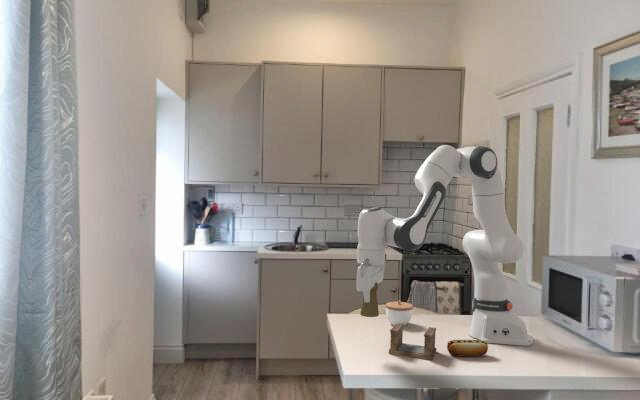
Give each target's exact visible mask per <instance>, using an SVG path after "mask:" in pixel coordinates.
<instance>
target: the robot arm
mask: <svg viewBox="0 0 640 400" xmlns="http://www.w3.org/2000/svg"><path fill="white" fill-rule="evenodd" d="M500 171H501V170H500V168H499V167H498V158H497V155H496V153H495V151H494V149H492V148H491V147H488V146H484V145H480V146H464V147H459V148H455V147H454V146H451V145H449V144H442V145H439V146H438V147H436V149H435V150H433V151H432V153H430V155H428V156H427V158H426V159H425V160H424V162H423V163H422V164H421V165H420V167H419V168H418V170H417V171H416V172H415V176H414V184H415V187H416V189H417V190H418V192H419V193H420V194H421V195H423V196H422V199H421V201H420V202H419V204H418V206H417V208H416V210H415V211H414V213H413V214H412V215H411V216H409V217H407V218H403V217H402V218H401V217H397V216H395V215H392V214H390V213H388V212H386V210H384V208H383V207H380V206H373V207H367V208H364V209H362V210H361V211H360V212H359V215H358V220H357V237H358V244H357V246H356V263H357V264H360V265H359V266H358V268H357V271H356V284H355V288H356V291H357V292H362V293H363V294H364V301H365V302H368V303H369V302H370V301H371V296H370V291H371V288H373V287H374V285H375V283H376V282H377V283H378V285H379V284H381V282H383V281H384V277H385V268H386V267H385V265H386V261H387V257H388V256H387V253H385V252H386V251H385V248H386V247H385V246H391V247H394V248H398V249H402V250H404V251H406V252H415V251H418V250H419V249H420V248H421V247H422V246H423V245H424V243H425V242H426V238H427V235H428V232H429V229H430V227H431V224H432V222H433V221H434V219H435V217H436V216H437V213H438V212H439V210H440V208H441V206H442V204H443V202H444V200H445V196H446V191H447V190H446V188H447V186H448V185H449V183H450V182H451V181H452V179H456V178H458V179H459V178H460V179H469V180H470V182H471V196H472V197H471V198H472V211H473V216H474V218H475V220H477V221H478V222H479V224H480V225H481V227H482V229H475V230H474V229H473V230H469V231H468V232H466V233H465V235H464V236H463V239H462V248H463V251H464V252H465V253H466V255H467V256H468V257H469V260H470V263H471V266H472V270H473V275H474V277H473V278H474V295H473V297H472V303H471V304H472V308H471V309H472V319H471V323H470V327H469V331H468V333H467V334H468V335H469V336H470V337H472V338H474V339H476V340H480V341H486V342H487V343H488V344H498V345H499V344H501V345H509V346H510V345H512V346H513V345H514V346H526V347H529V346H531V345H533V344H534V336H532V334H530V333H528V328H527V325H526V323H525V321H524V320H523V319H522V318H521V317H520V316H518V315H517V313H515V312H514V311H513V310H512V309H513V304H512V301H511V300H508V299H507V298H506V297H507V278H506V276H505V274H504V273H503V272H502V271H501V269H500V266H499V263H500V264H513V263H517V262H519V260H520V259H521V258H522V256H523V254H524V248H525V247H524V244H523V241H522V240H521V238H520V237H518V236H517V234H516V233H515V232H514V230H513V228H512V227H511V225H510V223H509V220H508V217H507V212H506V203H505V194H504V193H505V192H504V190H505V189H504V183H503V179H502V178H503V177H502V175H501V172H500ZM363 294H362V295H363Z"/></svg>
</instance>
